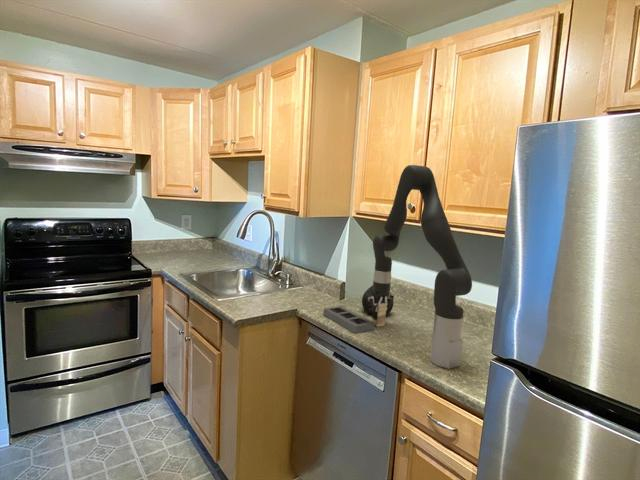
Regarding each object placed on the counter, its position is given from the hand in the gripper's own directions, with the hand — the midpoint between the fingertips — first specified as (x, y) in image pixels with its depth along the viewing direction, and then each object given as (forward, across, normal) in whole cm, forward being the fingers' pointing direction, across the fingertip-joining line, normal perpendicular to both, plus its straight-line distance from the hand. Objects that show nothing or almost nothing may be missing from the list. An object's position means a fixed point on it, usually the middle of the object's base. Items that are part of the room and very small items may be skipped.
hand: (378, 318), depth 164 cm
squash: (+3, +10, +13) cm, 17 cm away
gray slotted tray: (+3, -11, +8) cm, 14 cm away
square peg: (+3, 0, 0) cm, 3 cm away
